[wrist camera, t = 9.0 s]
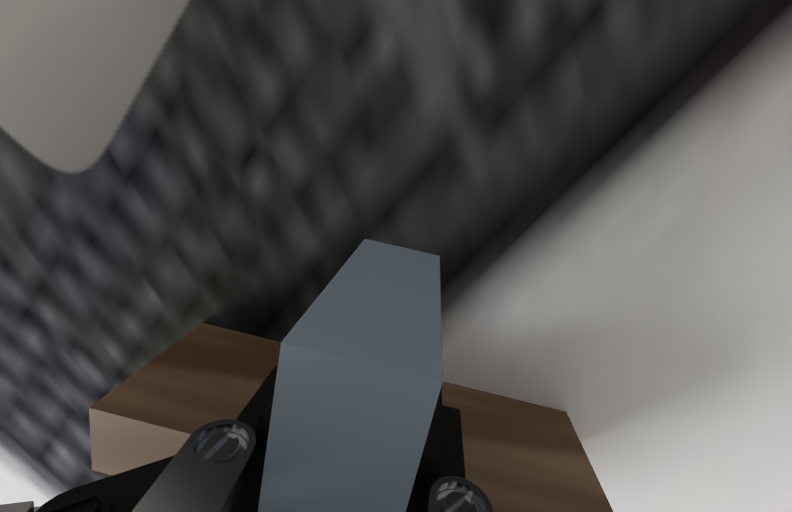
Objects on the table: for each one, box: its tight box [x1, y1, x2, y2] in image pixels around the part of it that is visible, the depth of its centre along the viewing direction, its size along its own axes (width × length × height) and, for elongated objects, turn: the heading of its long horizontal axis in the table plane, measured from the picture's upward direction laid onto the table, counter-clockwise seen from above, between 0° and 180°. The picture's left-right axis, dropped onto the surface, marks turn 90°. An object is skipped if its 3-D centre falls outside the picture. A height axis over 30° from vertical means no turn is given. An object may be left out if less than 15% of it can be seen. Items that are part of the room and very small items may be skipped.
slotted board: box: [89, 323, 613, 512], centre depth 17 cm, size 3×20×7 cm, turn 78°
